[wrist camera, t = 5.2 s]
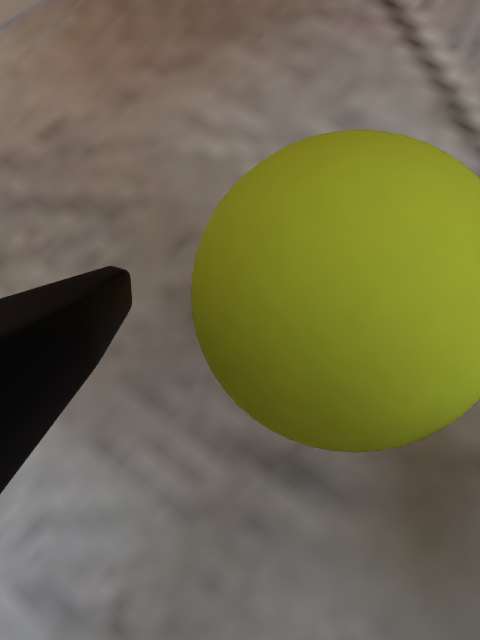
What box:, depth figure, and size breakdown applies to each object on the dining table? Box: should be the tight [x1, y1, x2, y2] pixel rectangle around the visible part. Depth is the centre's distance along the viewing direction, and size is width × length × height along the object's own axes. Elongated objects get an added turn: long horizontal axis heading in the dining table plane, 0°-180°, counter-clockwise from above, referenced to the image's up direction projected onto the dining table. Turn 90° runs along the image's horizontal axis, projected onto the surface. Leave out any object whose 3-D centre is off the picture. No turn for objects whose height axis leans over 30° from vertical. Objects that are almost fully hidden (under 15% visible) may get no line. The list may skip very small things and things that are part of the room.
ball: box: [191, 130, 480, 452], centre depth 8 cm, size 6×6×6 cm
